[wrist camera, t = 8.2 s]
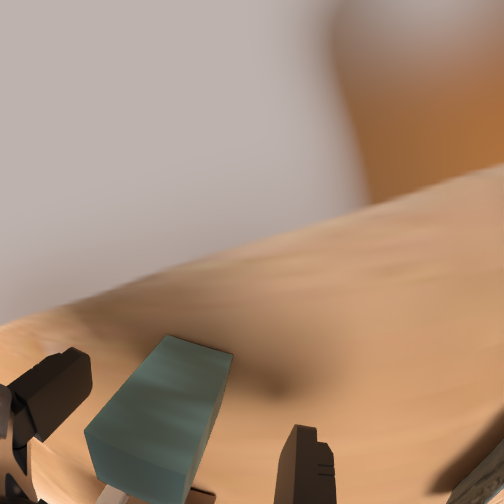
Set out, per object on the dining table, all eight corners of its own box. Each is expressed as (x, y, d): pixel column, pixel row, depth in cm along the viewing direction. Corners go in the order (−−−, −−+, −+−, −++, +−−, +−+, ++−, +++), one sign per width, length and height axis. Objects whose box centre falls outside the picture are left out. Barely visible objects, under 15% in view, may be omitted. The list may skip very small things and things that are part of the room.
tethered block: (260, 362, 11) (231, 488, 5) (207, 520, 15) (188, 577, 9) (143, 326, 11) (52, 410, 5) (145, 499, 15) (118, 552, 9)
